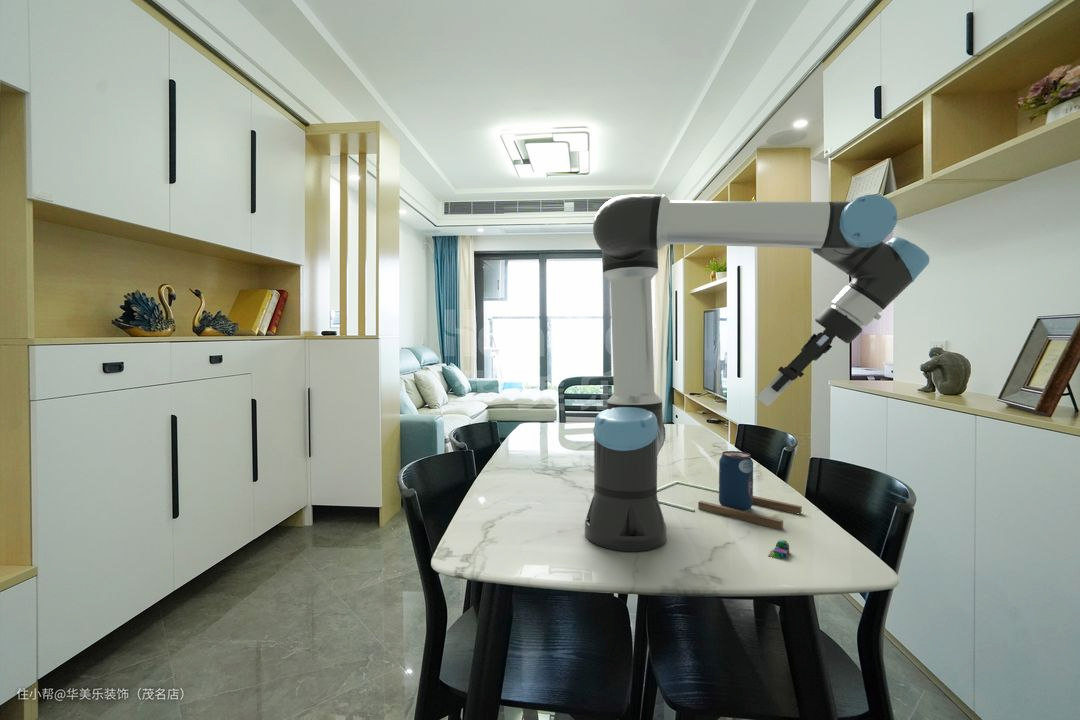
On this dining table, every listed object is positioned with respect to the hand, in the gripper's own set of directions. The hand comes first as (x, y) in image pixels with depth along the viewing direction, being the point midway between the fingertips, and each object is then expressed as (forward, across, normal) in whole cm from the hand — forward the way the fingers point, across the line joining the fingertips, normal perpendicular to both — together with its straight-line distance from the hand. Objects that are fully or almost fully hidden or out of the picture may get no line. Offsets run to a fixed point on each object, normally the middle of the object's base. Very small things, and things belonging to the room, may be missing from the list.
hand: (766, 398), depth 98 cm
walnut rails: (+21, +3, -14) cm, 25 cm away
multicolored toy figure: (+16, -18, -20) cm, 31 cm away
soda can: (+23, +3, -11) cm, 26 cm away
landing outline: (+31, +6, -2) cm, 31 cm away
